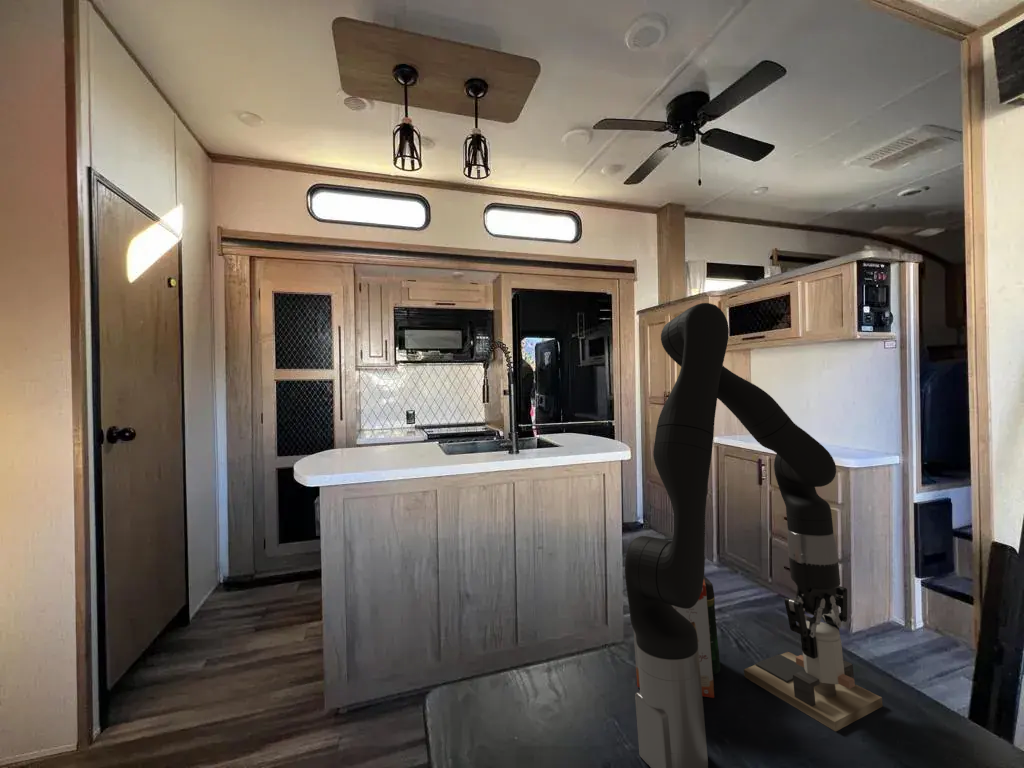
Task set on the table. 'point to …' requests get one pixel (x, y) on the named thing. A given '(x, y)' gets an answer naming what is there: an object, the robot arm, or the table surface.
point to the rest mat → (780, 667)
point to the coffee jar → (712, 627)
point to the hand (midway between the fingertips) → (821, 651)
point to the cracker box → (701, 624)
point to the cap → (827, 657)
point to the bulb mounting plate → (819, 695)
